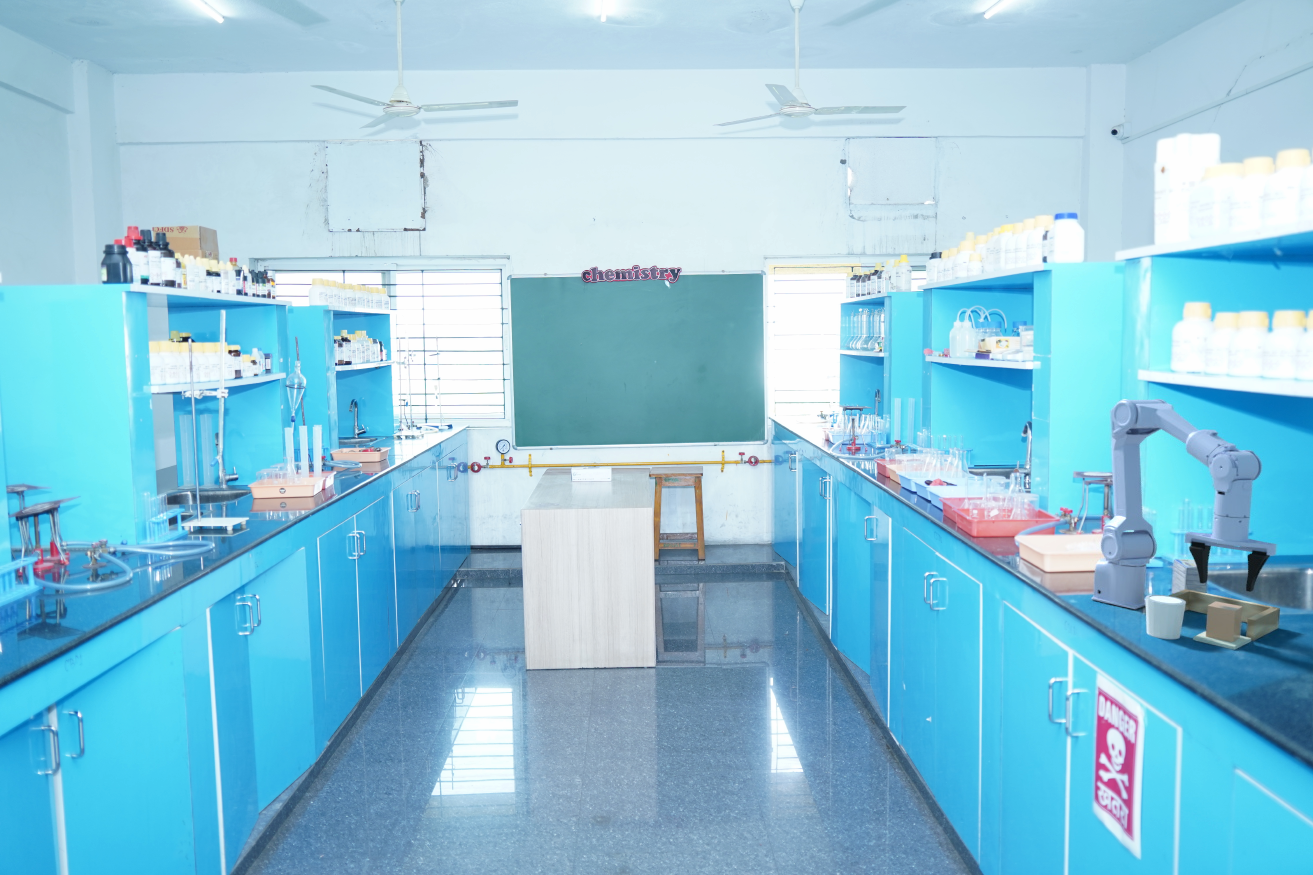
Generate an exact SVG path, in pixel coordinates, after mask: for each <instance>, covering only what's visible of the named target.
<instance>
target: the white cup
mask: <svg viewBox="0 0 1313 875" xmlns="http://www.w3.org/2000/svg"><path fill="white" fill-rule="evenodd" d="M1144 600H1146V606H1145V619H1146V621H1145V624H1146V634H1147V635H1148V636H1150V637H1151V636H1152V637H1154V638H1158V639H1163V640H1177V639H1180V637H1181V633H1182V632H1181V631H1182V626H1183V620H1184V615H1185V611H1184V610H1185V604H1186V601H1184V600H1182V599H1179V598H1176V597H1171V596H1169V595H1165V594H1164V595H1163V594H1148V595H1146V596H1145V597H1144Z"/></svg>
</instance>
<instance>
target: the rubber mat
mask: <svg viewBox="0 0 1313 875" xmlns="http://www.w3.org/2000/svg"><path fill="white" fill-rule="evenodd" d="M1192 640H1193V641H1196V642H1200V643H1204V644H1209V645H1213V646H1217V647H1222V648H1225V649H1230V650H1234V651H1235V650H1237V649H1238V648H1241V647H1242V646H1245V645H1246V644H1247V645H1248V643H1251V642H1252V641H1251V638H1249V637H1246V636H1243V635H1240V638H1238V639H1237V640H1236V641H1234V642H1228V641H1224V640H1219V639H1214V638H1210V637H1206V630H1205V631H1203V632H1200V633H1199V634H1197V635H1194V636H1193V639H1192Z"/></svg>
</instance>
